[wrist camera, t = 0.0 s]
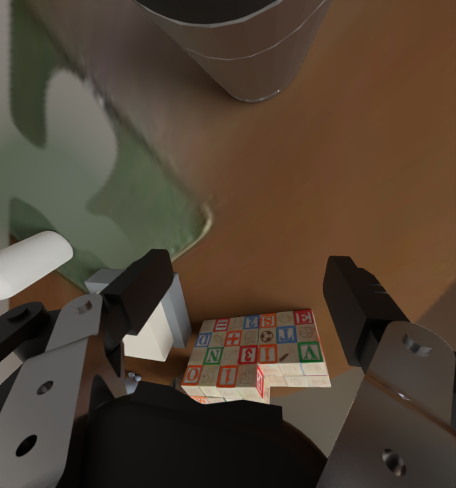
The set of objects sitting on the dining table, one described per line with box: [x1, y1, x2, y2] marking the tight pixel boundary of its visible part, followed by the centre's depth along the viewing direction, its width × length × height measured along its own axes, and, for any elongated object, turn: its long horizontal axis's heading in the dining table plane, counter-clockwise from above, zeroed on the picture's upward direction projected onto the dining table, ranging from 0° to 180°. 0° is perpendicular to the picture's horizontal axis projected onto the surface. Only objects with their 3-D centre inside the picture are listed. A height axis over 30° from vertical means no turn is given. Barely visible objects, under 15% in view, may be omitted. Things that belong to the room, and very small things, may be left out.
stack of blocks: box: [181, 309, 331, 404], centre depth 32 cm, size 21×6×12 cm, turn 112°
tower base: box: [84, 268, 192, 362], centre depth 36 cm, size 16×16×8 cm
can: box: [0, 231, 73, 300], centre depth 31 cm, size 6×6×12 cm
